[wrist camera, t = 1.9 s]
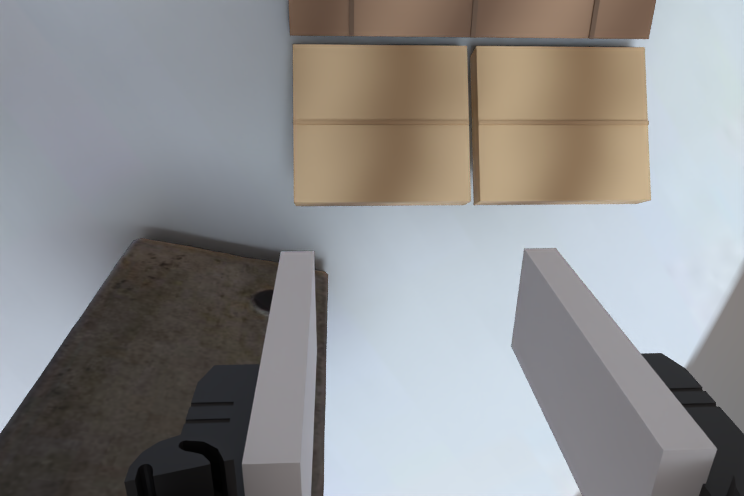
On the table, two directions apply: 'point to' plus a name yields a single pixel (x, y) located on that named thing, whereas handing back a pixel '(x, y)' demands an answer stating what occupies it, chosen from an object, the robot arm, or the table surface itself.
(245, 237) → the table surface
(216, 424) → the robot arm
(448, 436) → the table surface
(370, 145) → the oak plank
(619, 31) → the walnut row
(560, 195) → the oak plank
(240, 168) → the table surface
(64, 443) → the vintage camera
